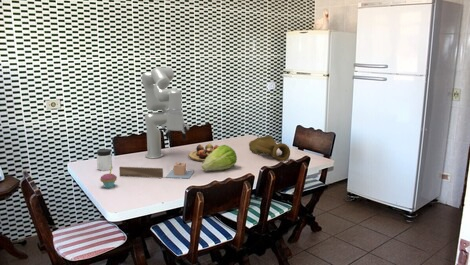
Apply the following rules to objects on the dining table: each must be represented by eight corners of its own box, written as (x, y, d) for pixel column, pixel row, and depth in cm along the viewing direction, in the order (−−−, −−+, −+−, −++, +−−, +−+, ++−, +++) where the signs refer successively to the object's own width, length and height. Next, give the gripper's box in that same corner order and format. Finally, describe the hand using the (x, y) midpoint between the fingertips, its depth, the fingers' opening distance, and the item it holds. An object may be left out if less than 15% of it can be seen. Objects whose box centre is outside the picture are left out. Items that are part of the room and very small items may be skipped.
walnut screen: (120, 175, 226) (120, 166, 225) (163, 177, 224) (162, 168, 223) (119, 176, 225) (119, 167, 224) (162, 177, 223) (162, 169, 222)
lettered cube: (176, 172, 232) (176, 162, 231) (186, 172, 232) (185, 162, 230) (174, 175, 226) (173, 165, 225) (183, 175, 226) (183, 165, 224)
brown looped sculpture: (280, 138, 288) (294, 140, 261) (274, 159, 288) (288, 163, 261) (252, 130, 282) (264, 131, 256) (246, 151, 282) (257, 154, 255)
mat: (171, 170, 236) (171, 169, 236) (193, 171, 235) (193, 170, 235) (165, 177, 223) (165, 176, 223) (189, 178, 222) (189, 177, 221)
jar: (94, 169, 238) (93, 150, 236) (105, 166, 245) (104, 148, 242) (104, 171, 234) (103, 152, 231) (114, 168, 241) (113, 150, 238)
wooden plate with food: (213, 166, 249) (213, 153, 247) (179, 157, 268) (178, 146, 266) (241, 156, 274) (242, 145, 272) (208, 149, 293) (208, 138, 291)
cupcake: (118, 183, 212) (117, 163, 210) (114, 189, 204) (113, 167, 201) (103, 183, 212) (102, 163, 209) (98, 189, 203) (97, 167, 201)
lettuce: (214, 182, 230) (200, 179, 243) (242, 162, 244) (227, 160, 256) (206, 161, 226) (192, 159, 238) (234, 142, 239) (220, 141, 251)
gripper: (159, 111, 222) (159, 140, 226) (188, 113, 220) (188, 141, 224) (162, 109, 229) (163, 137, 233) (190, 110, 228) (190, 138, 231)
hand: (175, 139), depth 228 cm, fingers open, 9 cm apart
